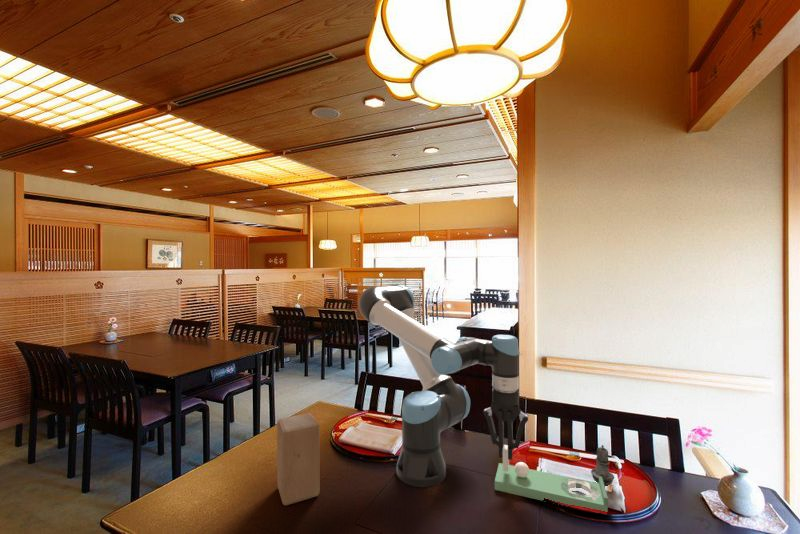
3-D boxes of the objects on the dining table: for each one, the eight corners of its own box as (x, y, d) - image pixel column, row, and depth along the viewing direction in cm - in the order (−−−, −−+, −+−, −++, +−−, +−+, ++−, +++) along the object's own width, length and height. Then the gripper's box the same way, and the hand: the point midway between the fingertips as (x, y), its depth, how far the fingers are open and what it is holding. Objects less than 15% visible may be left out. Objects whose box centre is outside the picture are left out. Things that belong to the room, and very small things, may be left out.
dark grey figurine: (617, 494, 100) (617, 451, 100) (594, 491, 101) (594, 449, 101) (609, 481, 106) (609, 440, 105) (588, 479, 107) (588, 439, 107)
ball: (513, 479, 103) (514, 465, 103) (515, 471, 106) (515, 458, 106) (528, 482, 101) (528, 468, 101) (529, 474, 105) (529, 460, 105)
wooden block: (282, 508, 94) (282, 432, 94) (276, 487, 103) (276, 417, 103) (320, 496, 99) (320, 424, 99) (311, 477, 108) (311, 411, 108)
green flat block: (494, 489, 102) (494, 473, 102) (499, 470, 111) (499, 456, 111) (607, 515, 91) (607, 498, 91) (602, 492, 100) (602, 476, 100)
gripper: (480, 390, 104) (481, 471, 104) (528, 396, 99) (528, 481, 99) (485, 382, 111) (485, 458, 111) (529, 387, 106) (530, 467, 106)
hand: (505, 469), depth 105 cm, fingers closed
